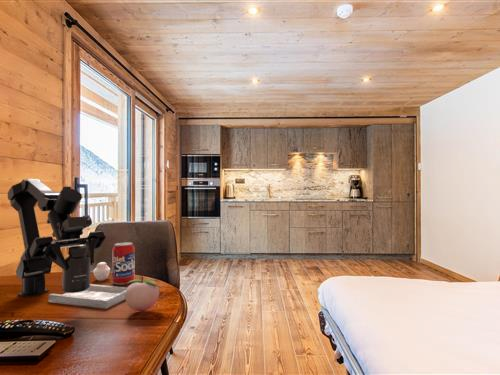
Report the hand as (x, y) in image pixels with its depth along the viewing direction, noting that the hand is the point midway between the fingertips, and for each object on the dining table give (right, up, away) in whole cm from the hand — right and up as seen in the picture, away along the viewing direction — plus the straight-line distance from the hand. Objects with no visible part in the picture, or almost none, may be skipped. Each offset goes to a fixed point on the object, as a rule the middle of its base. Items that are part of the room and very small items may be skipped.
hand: (79, 266), depth 82 cm
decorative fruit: (+17, -13, 0) cm, 22 cm away
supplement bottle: (-1, -7, 0) cm, 7 cm away
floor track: (-3, -14, +12) cm, 19 cm away
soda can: (0, -14, +29) cm, 33 cm away
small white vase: (-11, -15, +34) cm, 39 cm away
